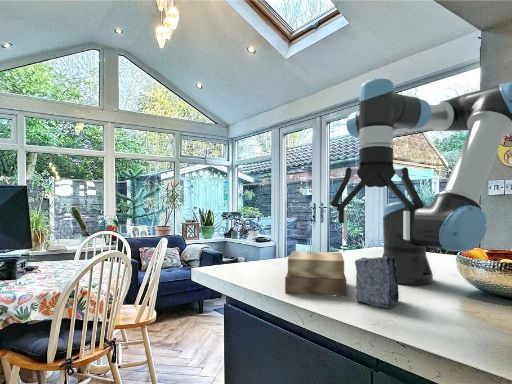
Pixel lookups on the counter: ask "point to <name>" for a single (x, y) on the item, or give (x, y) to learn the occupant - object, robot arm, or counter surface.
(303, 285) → the tower base
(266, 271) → the counter surface
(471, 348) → the counter surface
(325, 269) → the tower top
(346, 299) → the counter surface
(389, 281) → the stone
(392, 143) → the robot arm
